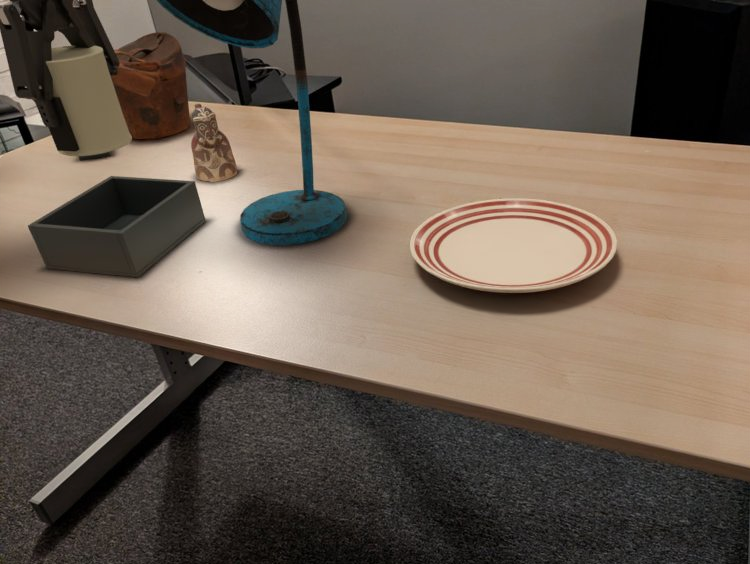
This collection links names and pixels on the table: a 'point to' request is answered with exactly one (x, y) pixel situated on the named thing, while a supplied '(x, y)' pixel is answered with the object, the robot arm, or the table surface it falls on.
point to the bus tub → (119, 226)
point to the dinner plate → (513, 245)
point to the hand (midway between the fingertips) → (93, 137)
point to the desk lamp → (308, 206)
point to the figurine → (211, 148)
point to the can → (88, 99)
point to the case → (152, 86)
